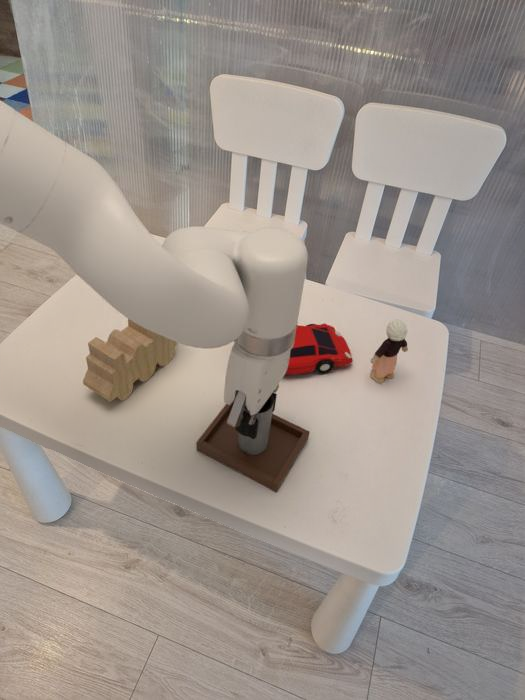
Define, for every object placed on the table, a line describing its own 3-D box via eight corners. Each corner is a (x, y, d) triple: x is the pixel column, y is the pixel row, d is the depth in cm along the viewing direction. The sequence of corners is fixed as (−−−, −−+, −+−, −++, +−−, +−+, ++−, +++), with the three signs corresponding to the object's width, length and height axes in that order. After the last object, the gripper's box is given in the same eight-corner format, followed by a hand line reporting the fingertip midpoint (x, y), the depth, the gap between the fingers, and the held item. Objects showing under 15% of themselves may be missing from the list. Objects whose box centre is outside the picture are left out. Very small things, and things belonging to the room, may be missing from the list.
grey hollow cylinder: (267, 456, 78) (273, 414, 71) (237, 454, 78) (240, 412, 70) (267, 431, 81) (273, 388, 74) (238, 429, 81) (241, 386, 74)
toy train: (86, 395, 84) (74, 352, 77) (158, 337, 95) (154, 294, 87) (111, 412, 82) (101, 369, 75) (182, 351, 93) (179, 308, 85)
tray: (196, 450, 79) (196, 442, 77) (232, 402, 85) (233, 394, 84) (276, 492, 75) (277, 485, 73) (308, 439, 81) (309, 431, 80)
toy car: (356, 369, 92) (362, 349, 89) (246, 388, 88) (248, 368, 84) (335, 329, 99) (339, 309, 96) (232, 344, 95) (232, 324, 91)
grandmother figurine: (385, 359, 95) (403, 306, 86) (402, 372, 93) (423, 319, 84) (357, 379, 91) (373, 326, 82) (374, 393, 89) (393, 340, 80)
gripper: (270, 280, 69) (260, 373, 82) (198, 359, 58) (200, 451, 71) (322, 301, 67) (303, 392, 80) (257, 387, 56) (248, 477, 69)
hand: (255, 419), depth 75 cm, fingers closed on grey hollow cylinder, 4 cm apart
